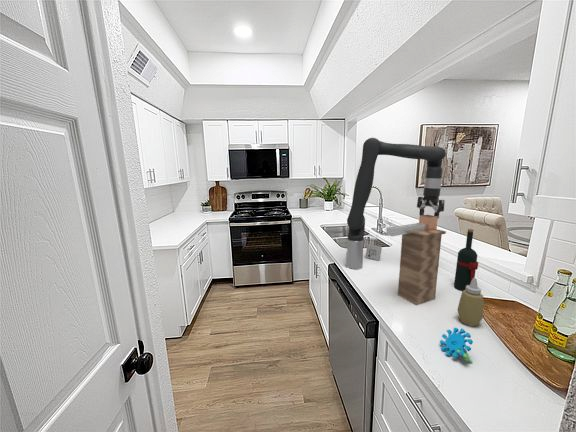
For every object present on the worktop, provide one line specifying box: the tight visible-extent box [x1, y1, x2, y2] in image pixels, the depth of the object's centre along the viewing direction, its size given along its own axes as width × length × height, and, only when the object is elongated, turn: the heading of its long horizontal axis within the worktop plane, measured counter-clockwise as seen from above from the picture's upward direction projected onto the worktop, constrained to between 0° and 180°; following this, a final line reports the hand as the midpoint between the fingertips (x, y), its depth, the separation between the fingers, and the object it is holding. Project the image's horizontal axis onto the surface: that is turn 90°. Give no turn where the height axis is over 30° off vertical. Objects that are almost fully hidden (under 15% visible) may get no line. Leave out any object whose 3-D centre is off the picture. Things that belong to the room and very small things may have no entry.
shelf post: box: [397, 228, 447, 306], centre depth 113 cm, size 14×12×32 cm
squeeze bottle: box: [456, 277, 484, 327], centre depth 95 cm, size 8×8×18 cm
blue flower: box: [439, 327, 474, 364], centre depth 80 cm, size 11×6×10 cm
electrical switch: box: [364, 243, 382, 262], centre depth 165 cm, size 9×5×9 cm, turn 50°
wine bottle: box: [453, 228, 479, 292], centre depth 119 cm, size 8×10×30 cm
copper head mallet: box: [385, 214, 439, 237], centre depth 107 cm, size 26×5×6 cm, turn 114°
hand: (428, 217), depth 133 cm, fingers open, 8 cm apart
